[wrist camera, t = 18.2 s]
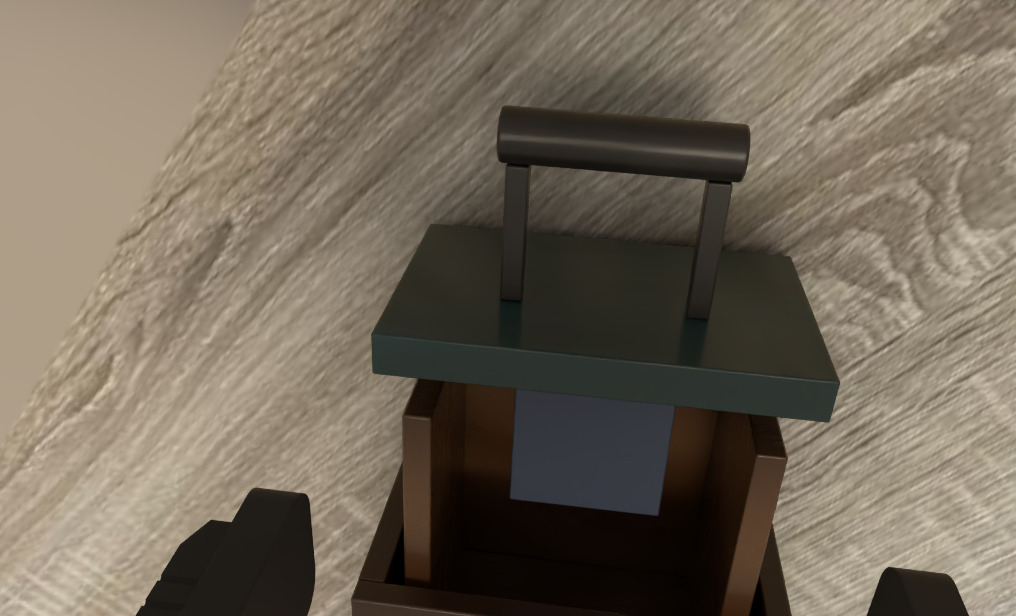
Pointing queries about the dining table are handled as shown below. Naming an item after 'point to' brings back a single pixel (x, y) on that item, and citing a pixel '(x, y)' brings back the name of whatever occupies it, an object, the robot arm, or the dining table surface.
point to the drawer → (601, 380)
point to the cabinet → (427, 612)
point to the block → (590, 451)
